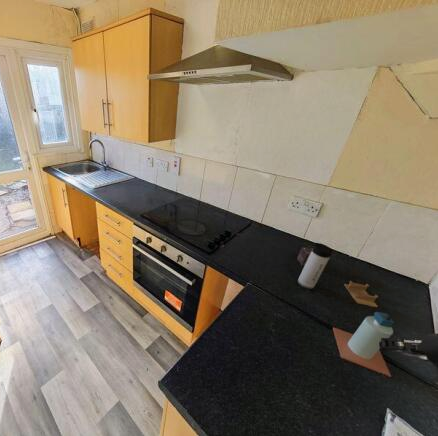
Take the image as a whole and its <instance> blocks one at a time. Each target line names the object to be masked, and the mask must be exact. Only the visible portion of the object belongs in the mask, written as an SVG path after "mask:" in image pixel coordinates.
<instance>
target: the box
mask: <svg viewBox="0 0 438 436" xmlns="http://www.w3.org/2000/svg"><path fill="white" fill-rule="evenodd" d="M312 250H313V248H312V247H302V246H301V248H300V251H299V253H298V255H297V256H296V257H297V258H296V259H297V261H298V262H299V263H300V265H301V266H302V267H304V266H305V264H306V262H307V260H308V258H309V256H310V254H311V252H312Z"/></svg>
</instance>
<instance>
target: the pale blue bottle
mask: <svg viewBox="0 0 438 436" xmlns="http://www.w3.org/2000/svg"><path fill="white" fill-rule="evenodd" d="M373 314H374V315H368V316H366V317H365V318H364V320H363V321H362V322H361V324H360V325H359V326H358V328H357V329H356V330H355V332H354V333H353V334H354V335H353V336H352V337H351V339H350V340H349V342H348V346H349V348H350V349H351V350H352V351H353V352H354V353H355V354H356V355H358V356H360V357H362V358H364V359H371V358H372V357H373V356H374V355H375V354H376V353H377V351H378V350H381V349H380V347H379V342H380V341H381V338H391V336H392V335H393V334H394V329H393V328H392V326H393V325H394V324H395V322H394V320H392V317H391V316H390V315H388V313H384V312H380V311H375V312H374V313H373Z"/></svg>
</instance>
